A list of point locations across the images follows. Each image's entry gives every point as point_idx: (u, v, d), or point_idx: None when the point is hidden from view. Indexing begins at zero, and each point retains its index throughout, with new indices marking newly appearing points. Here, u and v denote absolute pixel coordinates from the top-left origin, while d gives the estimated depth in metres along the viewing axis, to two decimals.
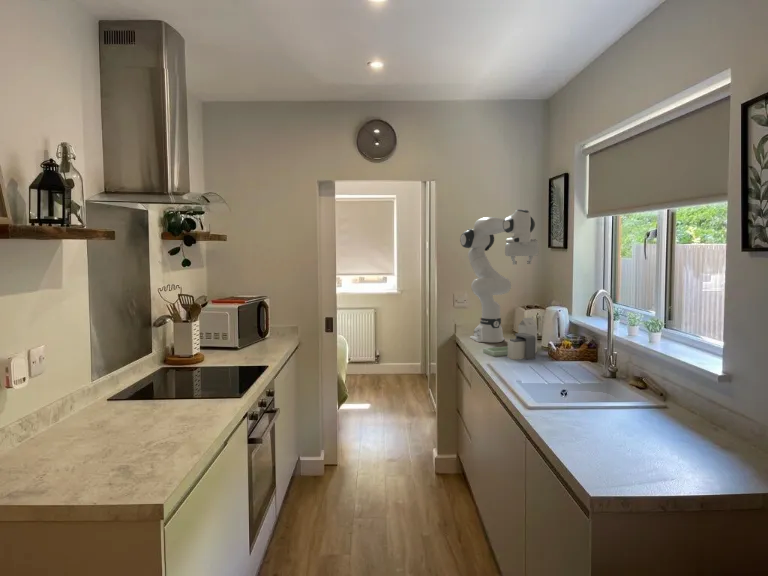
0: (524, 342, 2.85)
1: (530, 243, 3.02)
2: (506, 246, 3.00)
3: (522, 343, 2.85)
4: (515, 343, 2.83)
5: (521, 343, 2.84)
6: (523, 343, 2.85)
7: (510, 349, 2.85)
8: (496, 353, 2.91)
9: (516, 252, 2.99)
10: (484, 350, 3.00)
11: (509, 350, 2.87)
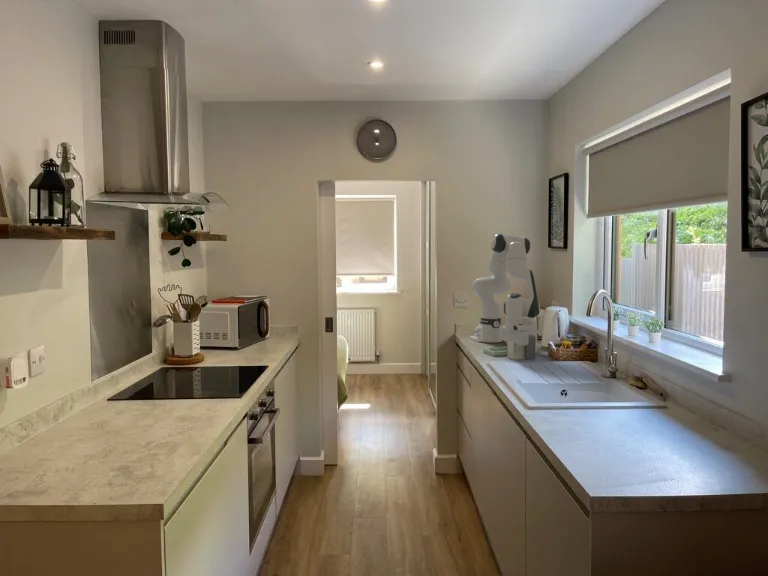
0: None
1: None
2: (523, 335, 2.76)
3: None
4: None
5: None
6: None
7: (510, 349, 2.85)
8: (496, 353, 2.91)
9: None
10: (484, 350, 3.00)
11: (509, 350, 2.87)
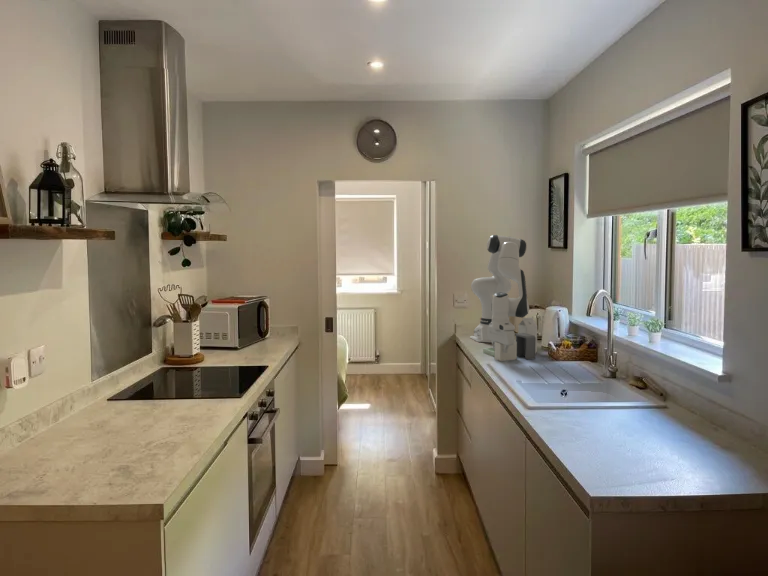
0: None
1: None
2: (509, 335, 2.73)
3: None
4: (502, 344, 2.80)
5: None
6: None
7: (497, 351, 2.83)
8: None
9: None
10: (484, 350, 3.00)
11: (495, 351, 2.84)
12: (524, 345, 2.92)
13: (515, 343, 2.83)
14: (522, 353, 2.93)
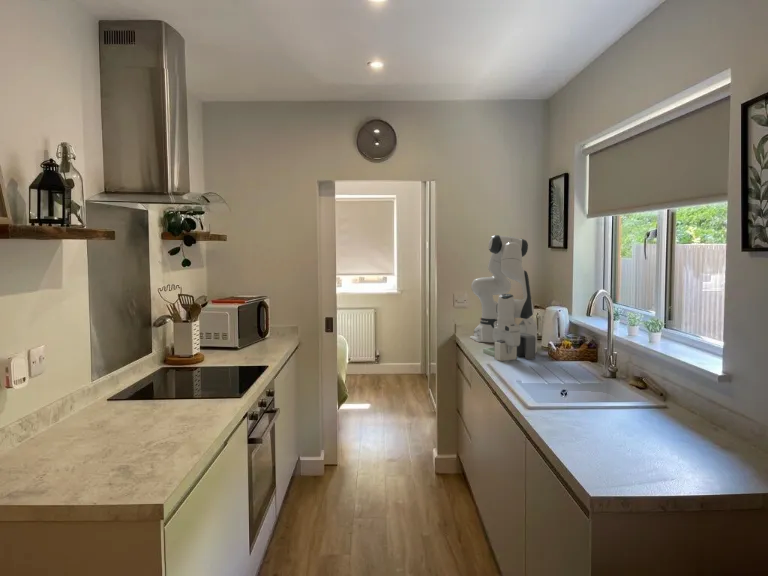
0: None
1: None
2: (515, 336, 2.74)
3: None
4: (502, 344, 2.80)
5: None
6: None
7: (497, 351, 2.83)
8: None
9: None
10: (484, 350, 3.00)
11: (495, 351, 2.84)
12: (524, 345, 2.92)
13: None
14: (522, 353, 2.93)
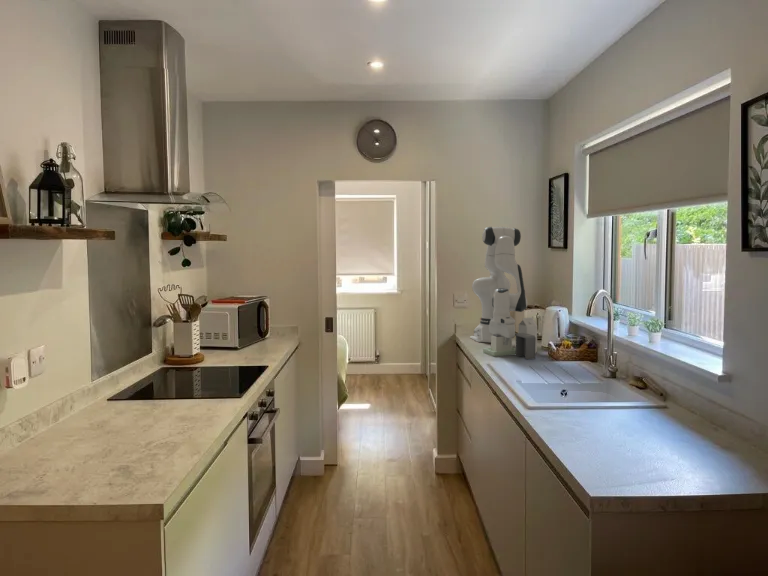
0: None
1: None
2: (510, 328, 2.88)
3: None
4: (498, 338, 2.94)
5: (504, 338, 2.96)
6: None
7: (493, 344, 2.97)
8: (496, 353, 2.91)
9: None
10: (484, 350, 3.00)
11: (492, 344, 2.98)
12: (524, 345, 2.92)
13: None
14: (522, 353, 2.93)
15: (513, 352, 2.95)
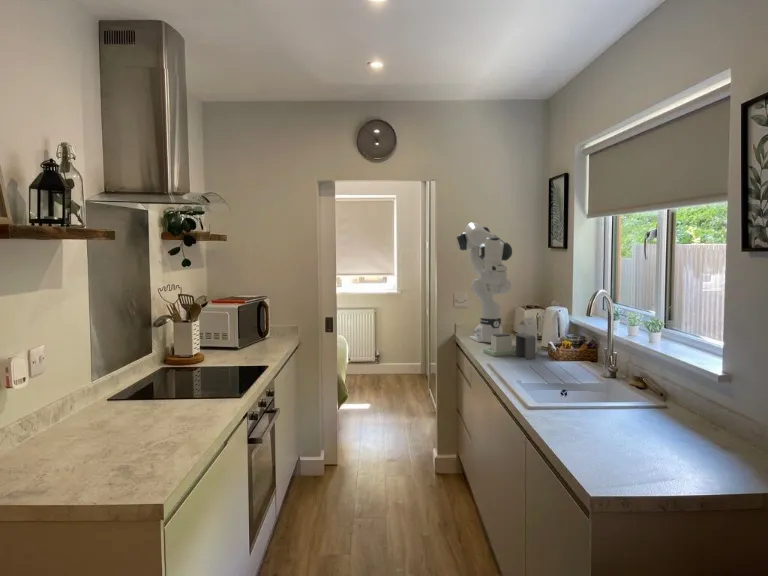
0: (507, 337, 2.97)
1: None
2: (501, 275, 2.88)
3: (505, 338, 2.96)
4: (498, 338, 2.94)
5: (504, 338, 2.96)
6: (506, 338, 2.96)
7: (493, 344, 2.97)
8: (496, 353, 2.91)
9: None
10: (484, 350, 3.00)
11: (492, 344, 2.98)
12: (524, 345, 2.92)
13: (510, 337, 2.97)
14: (522, 353, 2.93)
15: (513, 352, 2.95)
